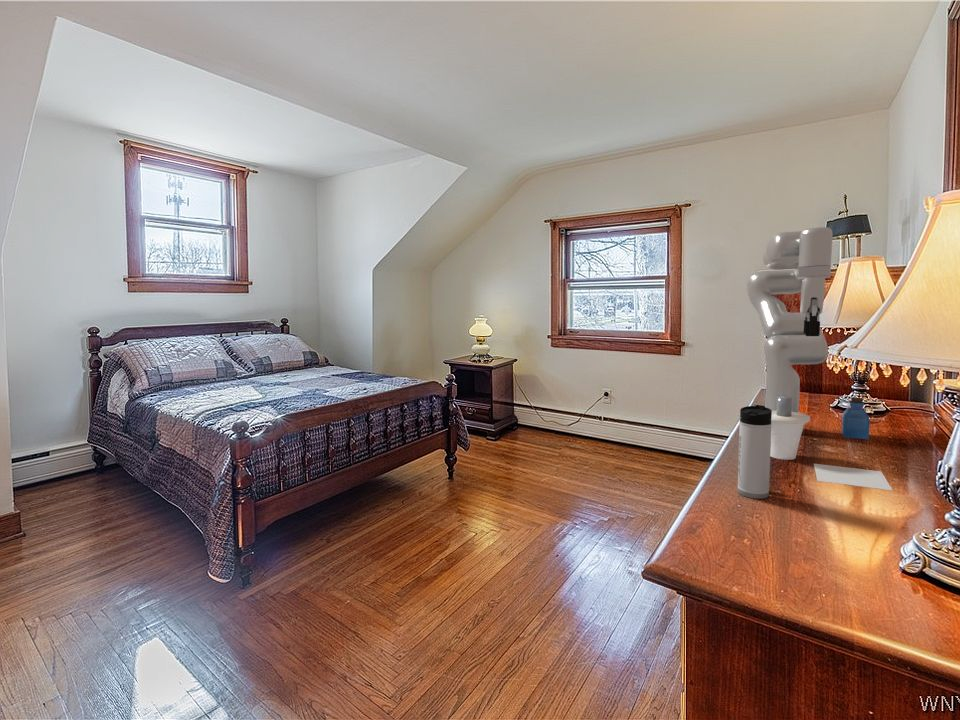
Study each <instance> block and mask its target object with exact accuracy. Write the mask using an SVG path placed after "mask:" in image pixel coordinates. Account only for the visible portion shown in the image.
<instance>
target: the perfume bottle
mask: <svg viewBox="0 0 960 720" xmlns="http://www.w3.org/2000/svg"><path fill="white" fill-rule="evenodd" d="M850 400H851V401H849V406H847V407H846V409H845V410H844V412H843V413H842V426H841V433H842V436H843V438H849V439H861V440H870V439H869V438H870V424H871V419H870V417H869V415H868V414H867V411H866V410H865V408H864V406H865V402H863V401H864V398H861V397H850Z"/></svg>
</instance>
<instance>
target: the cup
mask: <svg viewBox="0 0 960 720" xmlns="http://www.w3.org/2000/svg"><path fill="white" fill-rule="evenodd" d="M771 423H772V425H771V452H770V458H771V457H772V458H774V459H778V460H783V461H784V460H786V461H788V460H789V461H790V460H795V459H796V457H797V454H798V450H799V449H798V448H799V445H800V442H801V441H800V440H801V437H802V433H803V432H802V430H803V431H804V425H805V424H783V423H775V422H771Z"/></svg>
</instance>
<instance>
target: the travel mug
mask: <svg viewBox="0 0 960 720" xmlns="http://www.w3.org/2000/svg"><path fill="white" fill-rule="evenodd" d="M739 413H740V415H739V417H740V418H739V430H738V431H739V436H738V464H737V466H738V467H737V493H738V494H740V495H741V496H743V497H745V498H750V499H756V500H757V499H758V500H759V499H766V498H768V497H769V495H770V474H771V473H770V471H771V456H770V452H771V425H772V423H771V418H772V410H771V409H769V408H766V407H765V405H763V404H761V405H760V404H755V405H748V406H743V407H741V408H740V412H739Z"/></svg>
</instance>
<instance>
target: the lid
mask: <svg viewBox="0 0 960 720" xmlns="http://www.w3.org/2000/svg"><path fill="white" fill-rule="evenodd" d="M771 422H775V423H783V424H804V425H805V424H809V423H810V422H811V416H809V415H808V414H805V413H802V412H799V413H797V412H792V397H788V396H778V397H777V411H776V410H772V418H771Z"/></svg>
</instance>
